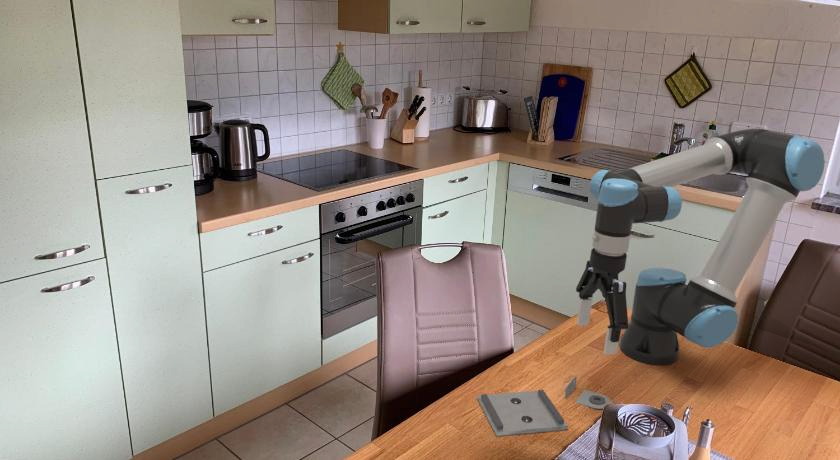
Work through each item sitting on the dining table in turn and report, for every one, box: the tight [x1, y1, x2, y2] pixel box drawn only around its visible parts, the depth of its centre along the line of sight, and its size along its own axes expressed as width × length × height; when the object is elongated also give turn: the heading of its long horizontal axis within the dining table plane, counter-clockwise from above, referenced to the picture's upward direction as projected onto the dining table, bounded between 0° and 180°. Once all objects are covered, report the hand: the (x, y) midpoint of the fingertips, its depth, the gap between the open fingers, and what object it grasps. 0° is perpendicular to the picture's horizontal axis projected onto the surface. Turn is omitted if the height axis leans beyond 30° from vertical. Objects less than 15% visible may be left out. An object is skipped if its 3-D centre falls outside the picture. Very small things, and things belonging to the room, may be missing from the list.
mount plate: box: [477, 389, 569, 437], centre depth 144 cm, size 16×14×2 cm
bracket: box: [564, 375, 612, 410], centre depth 151 cm, size 7×10×4 cm, turn 57°
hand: (595, 338), depth 147 cm, fingers open, 13 cm apart
